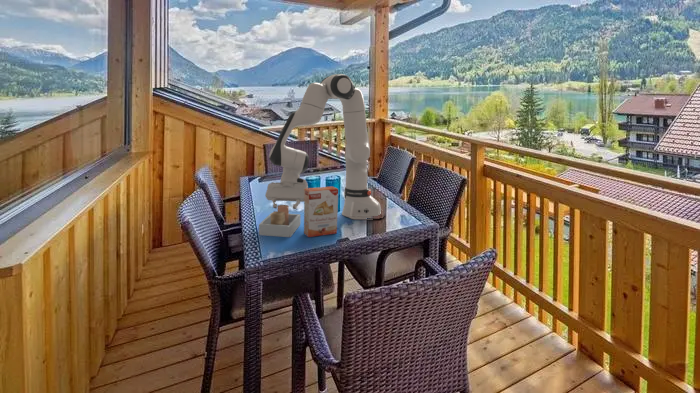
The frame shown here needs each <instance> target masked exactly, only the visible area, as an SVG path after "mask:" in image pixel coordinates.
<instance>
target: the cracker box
mask: <svg viewBox="0 0 700 393" xmlns="http://www.w3.org/2000/svg"><path fill="white" fill-rule="evenodd" d="M303 203H304V204H303V234H304V235H305V236H306V237H307V238H311V237H312V238H313V237H318V236H326V235H327V236H328V235H333V234H334V235H335V234H337V232H338V209H339V208H338V205H339V188H337V187H334V186H323V187H321V186H320V187H308V188H306V189H304V202H303Z"/></svg>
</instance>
